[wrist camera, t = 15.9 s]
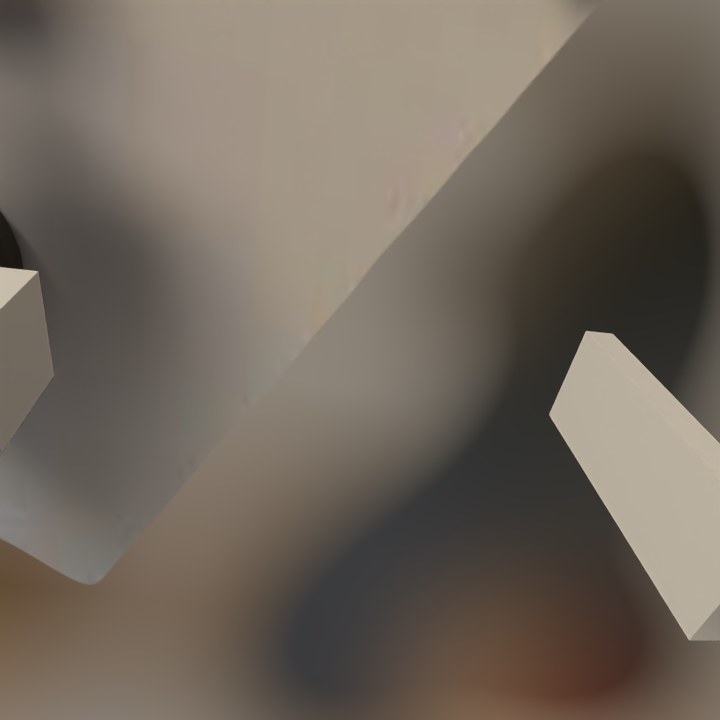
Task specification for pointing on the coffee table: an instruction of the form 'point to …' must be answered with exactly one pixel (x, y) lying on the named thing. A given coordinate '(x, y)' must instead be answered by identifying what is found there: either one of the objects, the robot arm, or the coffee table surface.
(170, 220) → the coffee table surface
